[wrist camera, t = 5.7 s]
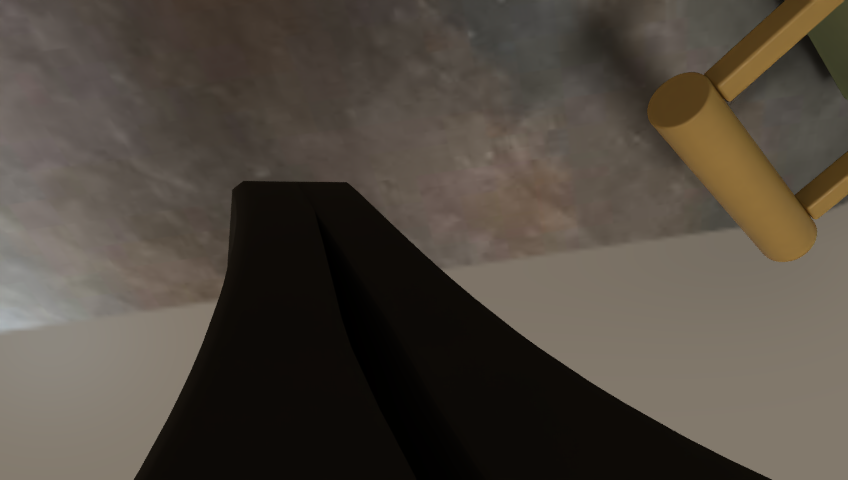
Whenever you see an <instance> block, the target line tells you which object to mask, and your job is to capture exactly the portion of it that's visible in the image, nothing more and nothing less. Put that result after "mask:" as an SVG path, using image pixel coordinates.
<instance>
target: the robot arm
mask: <svg viewBox="0 0 848 480" xmlns="http://www.w3.org/2000/svg"><path fill="white" fill-rule="evenodd" d="M134 480H772V479H769V478H767V477H765V476H763V475H761V474H759V473H757V472H754V471H753V470H750V469H748V468H746V467H744V466H742V465H740V464H738V463H735V462H733V461H731V460H729V459H727V458H725V457H723V456H721V455H719V454H717V453H715V452H714V451H711V450H710V449H708V448H706V447H703V446H702V445H700V444H698V443H696V442H694V441H692V440H690V439H688V438H686V437H684V436H682V435H680V434H679V433H677V432H675V431H673V430H671V429H670V428H668V427H666V426H665V425H663V424H661V423H659V422H657V421H656V420H654V419H652V418H650V417H648V416H647V415H645V414H643V413H641V412H640V411H638V410H636V409H634V408H632V407H631V406H629V405H627V404H625V403H624V402H622V401H620V400H619V399H617V398H615V397H614V396H612V395H611V394H609V393H607V392H606V391H604V390H602V389H601V388H599V387H597V386H596V385H594V384H593V383H591V382H589V381H588V380H586V379H585V378H583V377H582V376H580V375H579V374H577V373H576V372H574V371H573V370H571V369H570V368H568V367H567V366H565V365H564V364H563V363H561V362H560V361H558V360H557V359H555V358H554V357H552V356H550V355H549V354H547V353H546V352H545V351H543V350H542V349H540V348H539V347H537V346H536V345H534V344H533V343H532V342H530V341H529V340H528V339H526V338H525V337H524V336H522V335H521V334H519V333H518V332H517V331H515V330H514V329H513V328H511V327H510V326H509V325H508V324H506V323H505V322H504V321H503V320H501V319H500V318H499V317H498V316H496V315H495V314H494V313H493V312H491V311H490V310H489V309H487V308H486V307H485V306H484V305H482V304H481V303H480V302H479V301H477V300H476V299H474V297H472V296H471V295H470V294H469V293H467V291H465V290H464V289H463V288H462V287H461V286H459V285H458V284H457V283H456V282H455V281H454V280H452V279H451V278H450V277H449V276H448V275H447V274H445V273H444V272H443V271H442V270H441V269H440V268H439V267H438V266H436V265H435V264H434V263H433V262H432V261H431V260H430V259H429V258H428V257H426V256H425V255H424V254H423V253H422V252H421V251H420V250H419V249H418V248H417V247H416V246H415V245H413V244H412V243H411V242H410V241H409V240H408V239H407V238H406V237H405V236H404V235H403V234H402V233H401V232H400V231H399V230H398V229H396V228H395V227H394V226H393V225H392V224H391V223H390V222H389V221H388V220H387V219H386V218H385V217H384V216H383V215H382V214H381V213H380V212H379V211H378V210H377V209H376V208H374V207H373V206H372V205H371V204H370V203H369V202H368V201H367V200H366V199H365V198H364V197H363V196H362V195H361V194H360V193H359V192H358V191H356V190H355V189H354V188H353V187H352V186H351V185H350V184H348V183H347V182H276V181H243V182H241V183H240V184H239V185H238V186H236V187H235V188H234V189H233V190H232V204H231V220H230V236H229V251H228V267H227V272H226V276H225V280H224V284H223V287H222V290H221V294H220V297H219V300H218V302H217V305H216V308H215V311H214V314H213V316H212V319H211V322H210V324H209V327H208V330H207V333H206V335H205V338H204V341H203V344H202V346H201V348H200V351H199V353H198V356H197V358H196V360H195V362H194V365H193V367H192V370H191V372H190V374H189V376H188V378H187V380H186V383H185V385H184V387H183V389H182V391H181V393H180V395H179V397H178V400H177V401H176V403H175V405H174V407H173V409H172V411H171V413H170V415H169V417H168V419H167V421H166V423H165V425H164V426H163V429H162V430H161V432H160V434H159V436H158V438H157V439H156V441H155V443H154V445H153V446H152V448H151V450H150V452H149V454H148V456H147V457H146V459H145V461H144V463H143V465H142V467H141V468H140V470H139V472H138V473H137V475H136V477H135V478H134Z"/></svg>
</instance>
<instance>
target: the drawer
mask: <svg viewBox="0 0 848 480" xmlns="http://www.w3.org/2000/svg"><path fill="white" fill-rule="evenodd" d="M806 34H808V36H809V38H810V39H811V41H812V43H813V44H814V46H815V48H816V50H817V51H818V53H819V55H820V57H821V58H822V60H823V62H824V63H825V65H826V67H827V69H828V70H829V72H830V74H831V76H832V77H833V79H834V81H835V83H836V84H837V86H838V88H839V89H840V91H841V93H842V95H843V96H844V98H845V99H847V100H848V0H785V1H784V2H783V3H782V4H781V5H780V6H778V7H777V8H776V9H775V10H774V11H773V12H772V13H771V14H770V15H769V16H767V17H766V18H765V19H764V20H763V21H762V22H761V23H760V24H759V25H757V26H756V27H755V28H754V29H753V30H752V31H751V32H750V33H749V34H748V35H746V36H745V37H744V38H743V39H742V40H741V41H740V42H739V43H738V44H737V45H735V46H734V47H733V48H732V49H731V50H730V51H729V52H728V53H727V54H726V55H724V56H723V57H722V58H721V59H720V60H719V61H718V62H717V63H716V64H714V65H713V66H712V67H711V68H710V69H709V70H708V71H707V72H706V73H705V74H704V75H702V74H700V73H696V72H688V73H683V74H679V75H677V76H674V77H672V78H671V79H669V80H667V81H666V82H665V83H663V84H662V85H661V86H660V87H659V88H658V89H657V90H656V91H655V93H654V94H653V96H652V97H651V99H650V102H649V104H648V109H647V114H648V119H649V121H650V123H651V124H652V125H653V126H654V127H655V129H656V130H657V131H658V132H659V133H660V134H661V136H662V137H663V138H664V139H665V140H666V141H667V143H668V144H669V145H670V146H671V147H672V148H673V150H674V151H675V152H676V153H677V154H678V155H679V157H680V158H681V159H682V160H683V161H684V162H685V164H686V165H687V166H688V167H689V168H690V169H691V170H692V172H693V173H694V174H695V175H696V176H697V177H698V179H699V180H700V181H701V182H702V183H703V184H704V186H705V187H706V188H707V189H708V190H709V191H710V193H711V194H712V195H713V196H714V197H715V198H716V200H717V201H718V202H719V203H720V204H721V205H722V207H723V208H724V209H725V210H726V211H727V212H728V214H729V215H730V216H731V217H732V218H733V219H734V221H735V222H736V223H737V224H738V225H739V226H740V227H741V229H742V230H743V231H744V232H745V233H746V234H747V236H748V237H749V238H750V239H751V240H752V241H753V243H754V244H755V245H756V246H757V247H758V248H759V250H761V252H762V253H763V254H764V255H765V256H766V257H767V258H769V259H771V260H773V261H778V262H788V261H792V260H796V259H798V258H800V257H802V256H803V255H805V254H806V253H807V252H808V251H809V250H810V249H811V247H812V246H813V245H814V243H815V240H816V236H817V228H816V225H815V223H814V222H813V220H812V219H811V217H812V218H813V219H818V218H819V217H821V216H822V215H823V214H824V213H826V212H827V211H828V210H829V209H831V208H832V207H833V206H834V205H835V204H837V203H838V202H839V201H840V200H842V199H843V198H844V197H845V196H846V195H848V151H847V152H846V153H845V154H843V155H842V156H841V157H840V158H839V159H837V160H836V161H835V162H834V163H833V164H831V165H830V166H829V167H828V168H827V169H825V170H824V171H823V172H822V173H821V174H819V175H818V176H817V177H816V178H815V179H813V180H812V181H811V182H810V183H809V184H807V185H806V186H805V187H804V188H803V189H801V190H800V191H799V192H798V193H797V194H795V195H794V194H793V193H792V191H791V190H790V189H789V187H788V186H787V185H786V183H785V182H784V181H783V179H782V178H781V177H780V175H779V174H778V172H777V171H776V170H775V168H774V167H773V166H772V164H771V163H770V162H769V160H768V159H767V158H766V156H765V155H764V154H763V152H762V151H761V149H760V148H759V147H758V145H757V144H756V143H755V141H754V140H753V139H752V137H751V136H750V135H749V133H748V132H747V130H746V129H745V128H744V126H743V125H742V124H741V122H740V121H739V120H738V118H737V117H736V116H735V114H734V113H733V111H732V110H731V109H730V107H729V106H728V105H727V103H726V102H725V101H724V99H725V100H726V101H729V102H730V101H732V100H733V99H734V98H735V97H737V96H738V95H739V94H740V93H741V92H742V91H743V90H744V89H746V88H747V87H748V86H749V85H750V84H751V83H752V82H753V81H755V80H756V79H757V78H758V77H759V76H760V75H761V74H762V73H764V72H765V71H766V70H767V69H768V68H769V67H770V66H771V65H773V64H774V63H775V62H776V61H777V60H778V59H779V58H780V57H782V56H783V55H784V54H785V53H786V52H787V51H788V50H790V49H791V48H792V47H793V46H794V45H795V44H796V43H797V42H799V41H800V40H801V39H802V38H803V37H804V36H805V35H806ZM723 98H724V99H723ZM809 215H810V216H811V217H810V216H809Z"/></svg>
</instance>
